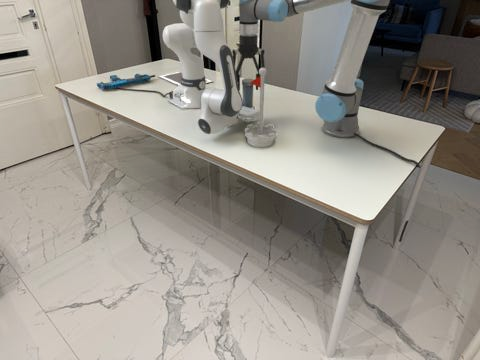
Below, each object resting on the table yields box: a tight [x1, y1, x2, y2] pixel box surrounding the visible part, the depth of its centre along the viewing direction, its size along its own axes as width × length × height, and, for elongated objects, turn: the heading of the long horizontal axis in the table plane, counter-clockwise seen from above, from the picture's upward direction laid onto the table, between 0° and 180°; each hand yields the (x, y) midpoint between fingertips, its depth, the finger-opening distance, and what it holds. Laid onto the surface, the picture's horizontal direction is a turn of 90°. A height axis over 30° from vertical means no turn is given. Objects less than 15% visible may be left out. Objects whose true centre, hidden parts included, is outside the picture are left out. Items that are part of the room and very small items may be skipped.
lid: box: [241, 78, 254, 87], centre depth 150 cm, size 5×5×2 cm
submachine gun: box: [96, 73, 156, 91], centre depth 208 cm, size 34×4×25 cm
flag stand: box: [244, 67, 278, 148], centre depth 133 cm, size 13×13×30 cm
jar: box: [241, 85, 254, 123], centre depth 155 cm, size 5×5×18 cm
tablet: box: [157, 70, 214, 86], centre depth 214 cm, size 32×20×1 cm, turn 41°
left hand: (248, 106), depth 157 cm, fingers closed on jar, 5 cm apart
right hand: (247, 89), depth 152 cm, fingers open, 7 cm apart
